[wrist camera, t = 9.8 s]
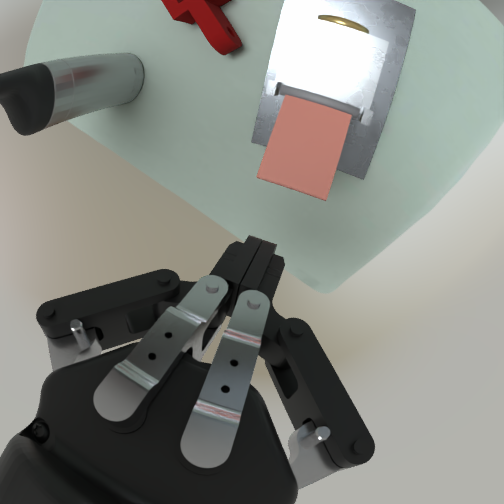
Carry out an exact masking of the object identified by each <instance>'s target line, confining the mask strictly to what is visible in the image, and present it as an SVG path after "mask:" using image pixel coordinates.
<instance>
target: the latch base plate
mask: <svg viewBox="0 0 504 504" xmlns="http://www.w3.org/2000/svg"><path fill="white" fill-rule="evenodd" d="M415 11H416V10H415V9H413V8H411V7H409V6H406V5H404V4H402V3H399V2H397V1H394V0H284V4H283V8H282V12H281V16H280V20H279V24H278V28H277V32H276V36H275V40H274V44H273V49H272V53H271V57H270V61H269V65H268V70H267V74H266V78H265V83H264V87H263V92H262V96H261V101H260V105H259V110H258V114H257V119H256V123H255V128H254V132H253V137H252V143H256V144H260V145H263V146H267V145H268V142H269V139H270V136H271V133H272V130H273V128H274V125H275V122H276V119H277V116H278V114H279V111H280V108H281V105H282V102H283V100H284V97H285V96H284V95H280V94H279V92H280V88H281V85H286V86H290V87H294V88H298V89H302V90H305V91H309V92H312V93H316V94H319V95H322V96H325V97H329V98H332V99H335V100H338V101H341V102H343V103H346V104H349V105H352V106H355V107H357V108H360V113H359V116H358V119H357V118H354V117H352V116H351V120H350V124H349V127H348V131H347V134H346V138H345V141H344V145H343V148H342V151H341V155H340V158H339V161H338V165H337V168H336V169H337V170H340V171H342V172H345V173H348V174H350V175H353V176H355V177H358V178H360V179H363V180H364V177H365V175H366V172H367V170H368V167H369V165H370V162H371V159H372V157H373V154H374V151H375V149H376V146H377V143H378V140H379V138H380V135H381V132H382V129H383V126H384V123H385V120H386V117H387V114H388V111H389V108H390V105H391V102H392V99H393V96H394V92H395V89H396V86H397V82H398V79H399V76H400V72H401V69H402V65H403V61H404V58H405V54H406V50H407V46H408V42H409V38H410V34H411V30H412V25H413V21H414V16H415ZM319 15H334V16H338V17H342V18H346V19H349V20H352V21H354V22H357V23H359V24H361V25H363V26H364V27H366V28H367V29H368V30H369V34H367V33H364V32H361V31H358V30H355V29H352V28H349V27H345V26H342V25H338V24H335V23H331V22H327V21H323V20H319V19H317V18H318V16H319Z"/></svg>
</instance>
